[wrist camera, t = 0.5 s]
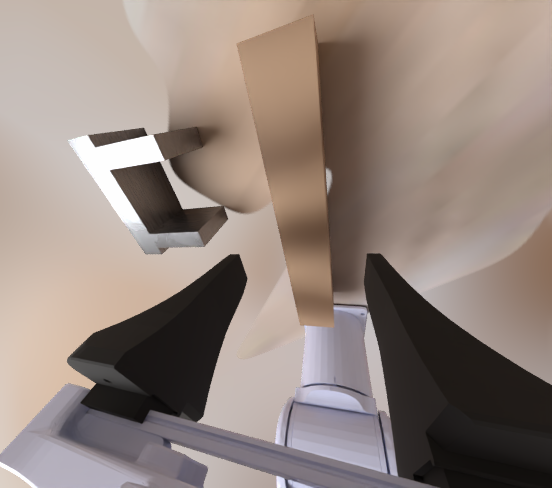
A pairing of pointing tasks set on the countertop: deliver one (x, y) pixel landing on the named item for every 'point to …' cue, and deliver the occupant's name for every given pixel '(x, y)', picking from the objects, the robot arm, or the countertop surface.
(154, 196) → the bracket
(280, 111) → the rail
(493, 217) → the countertop surface
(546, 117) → the countertop surface
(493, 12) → the countertop surface
